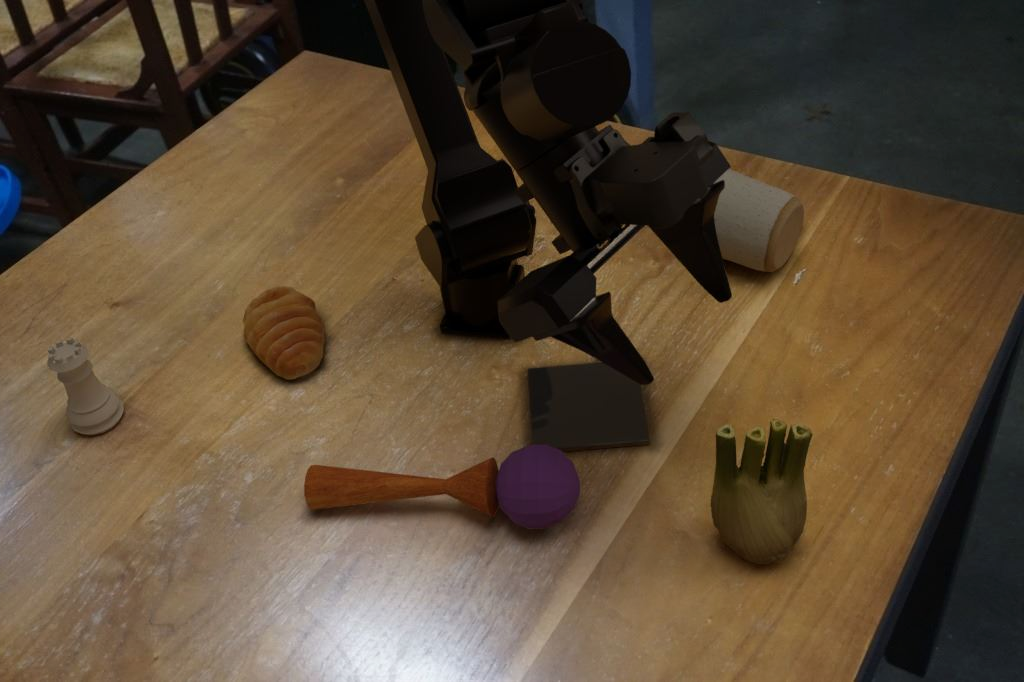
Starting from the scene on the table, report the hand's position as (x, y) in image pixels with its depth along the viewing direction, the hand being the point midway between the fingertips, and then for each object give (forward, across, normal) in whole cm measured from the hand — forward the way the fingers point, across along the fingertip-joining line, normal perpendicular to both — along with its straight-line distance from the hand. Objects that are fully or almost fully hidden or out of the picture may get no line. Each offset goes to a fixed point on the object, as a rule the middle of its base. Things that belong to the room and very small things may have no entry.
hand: (688, 340), depth 72 cm
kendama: (+2, -13, +18) cm, 23 cm away
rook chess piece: (-18, -23, +41) cm, 50 cm away
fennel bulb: (+15, -3, +3) cm, 16 cm away
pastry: (-13, -8, +36) cm, 39 cm away
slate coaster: (+4, +1, +16) cm, 17 cm away
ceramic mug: (+5, +25, +17) cm, 31 cm away
